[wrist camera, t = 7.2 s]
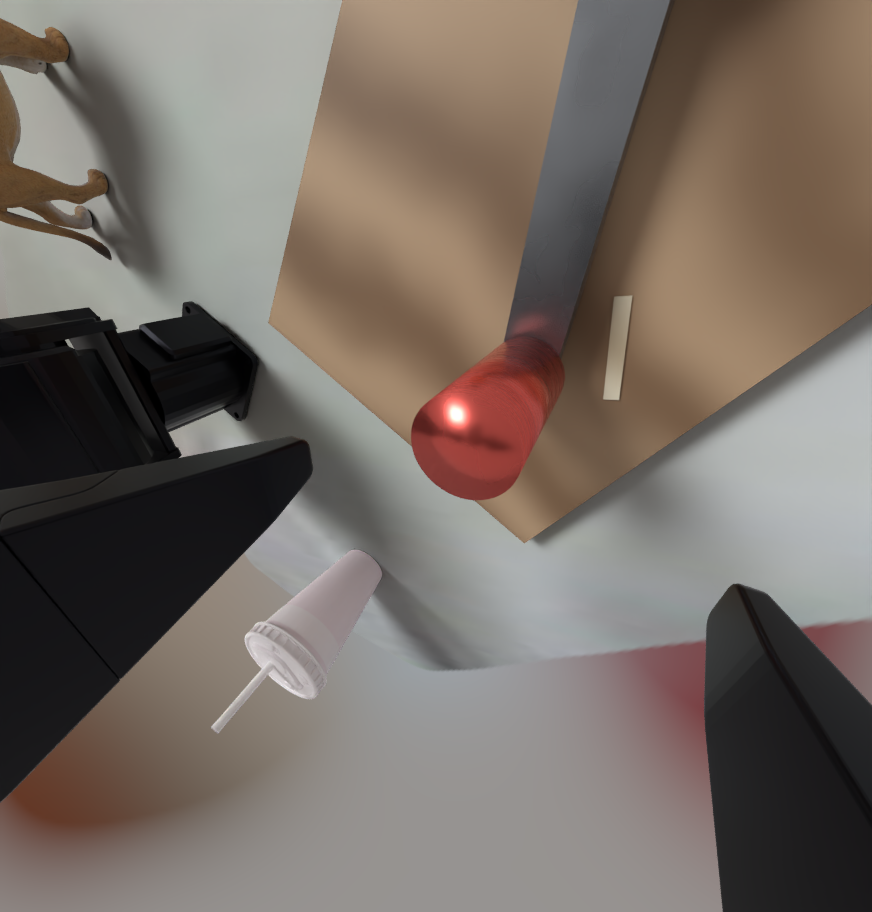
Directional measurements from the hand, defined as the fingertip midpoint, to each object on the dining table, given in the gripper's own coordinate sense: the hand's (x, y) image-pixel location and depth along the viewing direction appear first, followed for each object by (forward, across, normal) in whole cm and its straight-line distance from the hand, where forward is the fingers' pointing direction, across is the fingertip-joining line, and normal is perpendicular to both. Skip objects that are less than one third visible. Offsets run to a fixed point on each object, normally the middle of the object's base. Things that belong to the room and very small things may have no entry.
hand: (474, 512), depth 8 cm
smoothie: (+12, +12, +20) cm, 27 cm away
